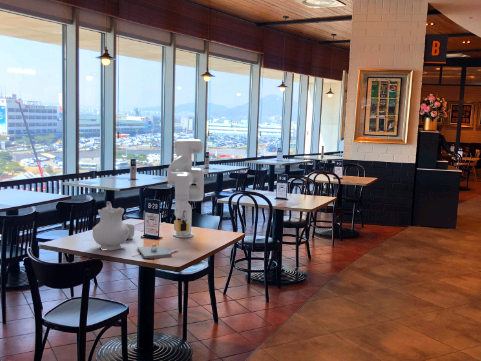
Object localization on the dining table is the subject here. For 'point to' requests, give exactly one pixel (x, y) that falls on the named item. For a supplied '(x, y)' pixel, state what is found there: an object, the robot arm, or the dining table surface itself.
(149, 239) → the dining table surface
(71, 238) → the dining table surface
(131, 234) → the teacup
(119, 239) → the ceramic pitcher
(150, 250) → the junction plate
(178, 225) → the yellow rounded block
